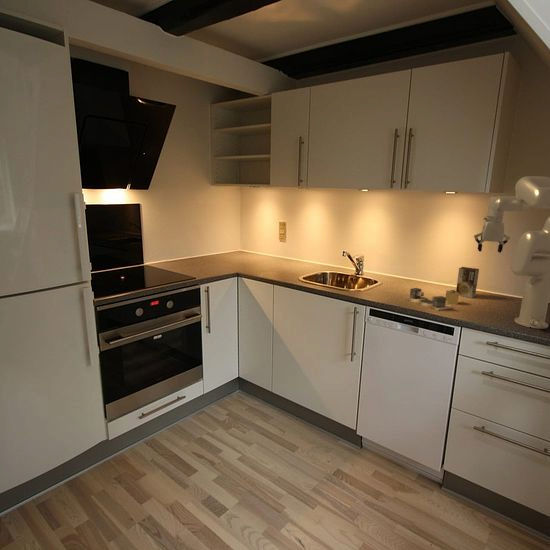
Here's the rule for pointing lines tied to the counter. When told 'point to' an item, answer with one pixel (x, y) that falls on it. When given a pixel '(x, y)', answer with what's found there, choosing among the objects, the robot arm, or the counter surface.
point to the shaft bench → (428, 300)
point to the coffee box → (467, 281)
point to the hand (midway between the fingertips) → (489, 251)
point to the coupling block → (452, 297)
